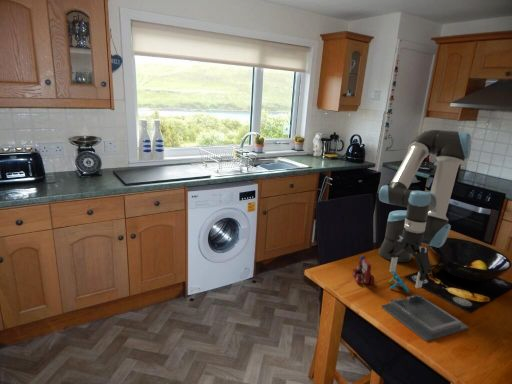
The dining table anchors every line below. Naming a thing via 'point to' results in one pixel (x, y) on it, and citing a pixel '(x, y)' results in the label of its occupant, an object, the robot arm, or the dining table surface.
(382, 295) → the dining table surface
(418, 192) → the robot arm
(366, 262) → the dark red figurine
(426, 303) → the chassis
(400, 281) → the blue toy figure
